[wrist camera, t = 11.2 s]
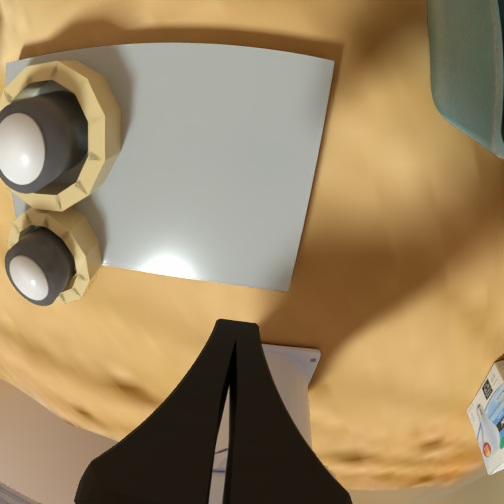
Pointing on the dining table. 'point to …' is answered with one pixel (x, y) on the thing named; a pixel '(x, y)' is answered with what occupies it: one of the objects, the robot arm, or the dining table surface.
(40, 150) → the cap
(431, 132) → the dining table surface
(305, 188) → the board
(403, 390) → the dining table surface
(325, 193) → the dining table surface
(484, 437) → the light bulb box
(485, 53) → the flower pot
